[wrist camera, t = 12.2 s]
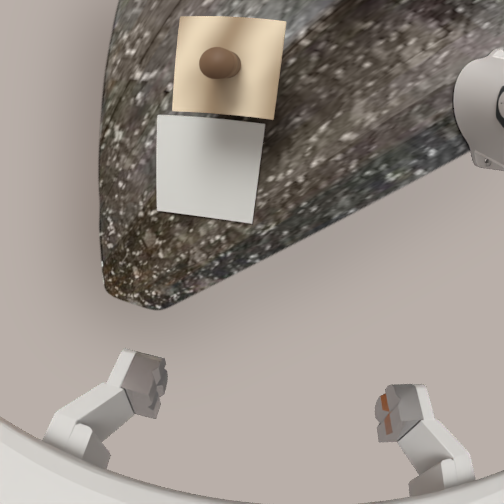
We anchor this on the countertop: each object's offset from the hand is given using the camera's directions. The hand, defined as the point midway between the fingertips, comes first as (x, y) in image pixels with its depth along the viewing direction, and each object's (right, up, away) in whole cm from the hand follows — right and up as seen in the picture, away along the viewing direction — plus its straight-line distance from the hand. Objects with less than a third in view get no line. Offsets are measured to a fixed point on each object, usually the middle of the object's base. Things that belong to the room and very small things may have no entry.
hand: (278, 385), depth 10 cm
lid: (-3, +23, +16) cm, 28 cm away
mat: (-7, +16, +30) cm, 35 cm away
